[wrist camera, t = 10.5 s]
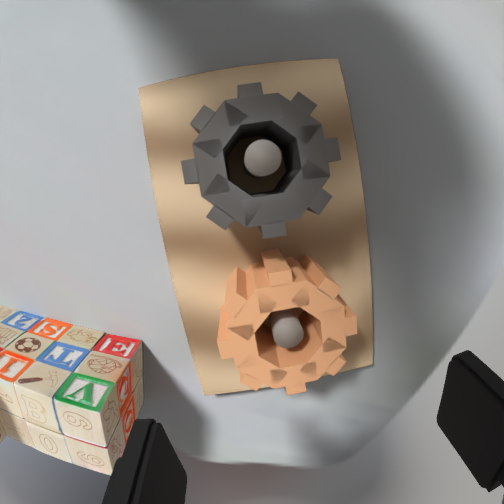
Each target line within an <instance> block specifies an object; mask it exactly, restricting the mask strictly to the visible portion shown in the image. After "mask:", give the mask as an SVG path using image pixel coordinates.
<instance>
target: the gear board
mask: <svg viewBox="0 0 504 504" xmlns="http://www.w3.org/2000/svg"><path fill="white" fill-rule="evenodd" d="M139 96H140V104H141V112H142V120H143V127H144V134H145V141H146V148H147V154H148V161H149V167H150V173H151V179H152V184H153V190H154V196H155V201H156V206H157V212H158V217H159V222H160V227H161V232H162V236H163V241H164V246H165V250H166V255H167V259H168V264H169V268H170V273H171V277H172V281H173V285H174V289H175V293H176V298H177V302H178V305H179V309H180V313H181V317H182V321H183V325H184V328H185V332H186V336H187V339H188V343H189V347H190V350H191V354H192V357H193V361H194V364H195V367H196V371H197V374H198V377H199V381H200V384H201V387H202V390H203V394H204V395H213V394H222V393H230V392H237V391H245V390H252V388H250V387H248V386H246V385H244V384H242V383H240V370H238V369H236V366H235V362H234V358H229V359H222V360H221V356H220V352H219V348H218V344H217V337H218V329H219V322H220V314H221V307H222V305H224V303H225V294H226V285H227V280H228V278H229V277H230V275H231V274H232V273H233V271H234V270H235V269H236V267H239V268H240V269H242V270H243V271H245V272H246V271H247V269H248V268H249V267H250V265H251V264H252V263H257V262H263V260H262V254H261V251H267V250H272V249H278V248H279V250H280V252H281V253H282V255H283V257H284V258H286V257H292V258H294V259H295V260H296V261H298V262H299V263H300V261H301V260H302V259H303V257H304V256H305V255H307V256H308V257H310V258H311V259H313V260H314V261H315V262H317V263H318V264H319V265H320V266H321V267H322V268H323V269H324V270H325V271H326V272H327V273H328V274H329V275H330V276H331V277H332V279H333V280H334V281H335V282H336V283H337V284H338V285H339V286H340V287H341V288H342V290H341V291H340V292H339V295H340V297H341V298H342V299H343V300H344V301H345V303H346V304H347V305H348V306H349V307H350V308H351V310H352V311H353V312H354V313H355V314H356V316H357V334H354V335H350V336H346V349H345V350H344V351H343V352H342V355H343V357H344V358H345V360H346V363H345V364H344V365H343V366H342V367H341V369H340V370H339V371H338V372H337V373H340V372H344V371H348V370H352V369H356V368H360V367H364V366H368V365H371V364H373V317H372V288H371V270H370V255H369V243H368V231H367V221H366V212H365V203H364V195H363V187H362V179H361V172H360V165H359V159H358V153H357V146H356V141H355V135H354V129H353V124H352V119H351V113H350V108H349V103H348V99H347V94H346V89H345V85H344V81H343V76H342V72H341V68H340V64H339V60H338V59H310V60H295V61H282V62H272V63H263V64H255V65H247V66H240V67H233V68H227V69H221V70H215V71H209V72H204V73H199V74H194V75H189V76H185V77H180V78H176V79H171V80H167V81H163V82H159V83H155V84H151V85H148V86H144V87H140V88H139ZM303 311H304V310H303V309H302V308H300V307H295V308H290V309H284V310H279V311H273V312H271V313H270V314H269V315H268V316H267V318H266V319H265V320H264V322H263V324H265V325H266V326H268V327H270V328H271V329H272V333H273V337H274V341H275V343H276V344H277V345H278V346H280V347H282V348H292V347H295V346H297V345H298V344H299V343H300V342H301V341H302V339H303V335H304V332H303V329H302V326H301V324H300V322H299V319H298V317H299V316H300V314H301V313H302V312H303ZM327 375H331V374H329V373H327V372H326V371H325V372H324V374H323V375H322V376H327ZM322 376H321V377H322ZM264 387H269V386H267V385H265V384H264V383H263V384H262V385H261V387H260V388H264Z"/></svg>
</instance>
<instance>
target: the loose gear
mask: <svg viewBox="0 0 504 504" xmlns="http://www.w3.org/2000/svg"><path fill="white" fill-rule="evenodd" d="M261 254H262V260H263V262H257V263H252V264H251V265H250V267H249V268H248V269H247V271H246V272H245V271H243V270H242V269H240V268H239V267H236V269H235V270H234V271H233V273H232V274H231V275H230V277H229V278H228V280H227V285H226V294H225V303H224V305H222V307H221V314H220V322H219V329H218V337H217V344H218V348H219V352H220V356H221V360H222V359H229V358H234V362H235V366H236V369H238V370H240V383H242V384H244V385H246V386H248V387H250V388H252V389H253V390H255V391H257V390H258V389H259V388H260V387H261V385H262V384H263V383H264V384H265V385H267V386H269V387H271V388H273V389H275V388H280V387H285V388H286V392H287V395H291V394H296V393H301V392H306V385H305V383H306V382H311V381H316V380H318V379H319V378H320V377H321V376H322V375H323V374H324V372H325V371H326V372H327V373H329V374H331V375H333V376H334V375H335V374H336V373H337V372H338V371H339V370H340V369H341V367H342V366H343V365H344V364H345V363H346V360H345V358H344V357H343V355H342V352H343V351H344V350H345V349H346V336H350V335H354V334H357V316H356V314H355V313H354V312H353V311H352V310H351V308H350V307H349V306H348V305H347V304H346V303H345V301H344V300H343V299H342V298H341V297H340V295H339V292H340V291H341V290H342V288H341V287H340V286H339V285H338V284H337V283H336V282H335V281H334V280H333V279H332V277H331V276H330V275H329V274H328V273H327V272H326V271H325V270H324V269H323V268H322V267H321V266H320V265H319V264H318V263H317V262H315V261H314V260H313V259H311V258H310V257H308V256H307V255H305V256H304V257H303V259H302V260H301V261H300V263H299V262H298V261H296V260H295V259H294V258H292V257H286V258H284V257H283V255H282V253H281V252H280V250H279V248H278V249H272V250H267V251H261ZM295 307H300V308H302V309H303V310H304V311H303V312H302V313H301V314H300V316H299V317H298V319H299V322H300V324H301V326H302V329H303V332H304V335H303V339H302V341H301V342H300V343H299V344H298V345H297V346H295V347H292V348H282V347H280V346H278V345H277V344H276V343H275V341H274V337H273V333H272V329H271V328H270V327H268V326H266V325H265V324H263V322H264V320H265V319H266V318H267V316H268V315H269V314H270V313H271V312H273V311H279V310H284V309H290V308H295Z"/></svg>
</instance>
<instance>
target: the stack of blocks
mask: <svg viewBox="0 0 504 504" xmlns="http://www.w3.org/2000/svg"><path fill="white" fill-rule="evenodd" d="M143 400H144V395H143V353H142V341H141V340H137V339H131V338H126V337H121V336H116V335H110V334H105V333H104V332H102V331H97V330H93V329H89V328H84V327H80V326H73V325H72V324H68V323H64V322H61V321H57V320H53V319H49V318H43V317H40V316H36V315H33V314H29V313H26V312H22V311H18V310H15V309H12V308H9V307H5V306H2V305H0V442H1V441H2V440H3V439H4V437H5V436H6V435H7V436H9V437H11V438H13V439H15V440H17V441H19V442H22V443H24V444H26V445H28V446H30V447H33V448H36V449H37V450H39V451H41V452H43V453H46V454H48V455H51V456H53V457H56V458H58V459H61V460H64V461H66V462H69V463H74V464H76V465H79V466H82V467H85V468H88V469H91V470H94V471H97V472H101V473H104V474H108V475H111V474H112V471H113V468H114V465H115V462H116V460H117V459H118V458H119V457H122V454H123V452H124V449H125V446H126V443H127V440H128V437H129V434H130V431H131V429H132V426H133V423H134V421H135V420H136V419H137V417H138V414H139V411H140V409H141V406H142V403H143Z"/></svg>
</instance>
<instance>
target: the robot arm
mask: <svg viewBox="0 0 504 504" xmlns="http://www.w3.org/2000/svg"><path fill="white" fill-rule="evenodd" d="M437 423H438V425H439V427H440V428H441V430H442V431H443V433H444V434H445V435H446V437H447V438H448V440H449V441H450V443H451V444H452V445H453V447H454V448H455V450H456V451H457V452H458V454H459V455H460V456H461V458H462V460H463V461H464V463H465V464H466V465H467V467H468V468H469V470H470V471H471V473H472V474H473V476H474V477H475V479H476V480H477V482H478V483H479V485H480V486H481V487H483V488H486V489H487V490H488V492H490V491H492V490H494V489H495V488H497V487H498V486H500V485H501V484H502V485H503V487H504V381H503V380H502V379H501V378H500V377H499V376H498V375H497V374H496V373H494V372H493V371H492V370H491V369H490V368H489V367H488V366H487V365H486V364H484V363H483V362H482V361H481V360H480V359H479V358H478V357H477V356H475V355H474V354H473V353H472V352H471V351H469V350H466V351H464V352H462V353H459V354H457V355H454V356H453V357H452V360H451V361H450V362H449V365H448V370H447V375H446V380H445V384H444V389H443V394H442V398H441V403H440V406H439V410H438V414H437ZM186 485H187V475H186V472H185V470H184V468H183V466H182V464H181V462H180V460H179V459H178V457H177V455H176V453H175V451H174V449H173V447H172V445H171V443H170V441H169V439H168V437H167V435H166V433H165V431H164V429H163V427H162V425H161V424H160V423H156V421H155V420H154V419H136V420H135V421H134V423H133V426H132V429H131V431H130V434H129V437H128V440H127V443H126V446H125V449H124V452H123V455H122V457H119V458H118V459H117V460H116V462H115V465H114V468H113V471H112V474H111V477H110V480H109V483H108V486H107V489H106V492H105V496H104V499H103V502H102V504H184V503H185V494H186ZM502 504H504V495H503V500H502Z"/></svg>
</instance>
